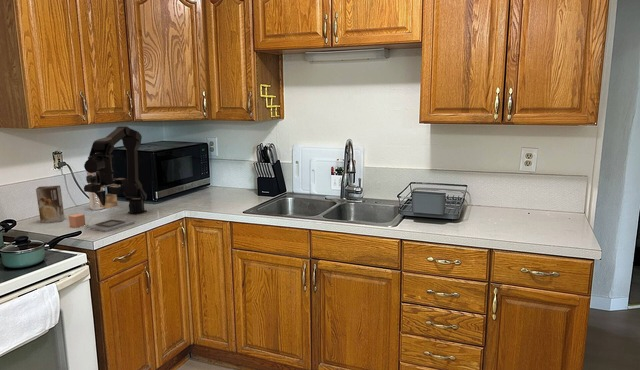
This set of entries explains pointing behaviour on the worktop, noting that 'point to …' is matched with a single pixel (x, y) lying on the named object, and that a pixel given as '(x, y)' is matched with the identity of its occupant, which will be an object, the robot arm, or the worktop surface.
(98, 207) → the water bottle
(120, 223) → the grey flat square plate
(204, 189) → the worktop surface
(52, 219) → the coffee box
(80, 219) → the terracotta block
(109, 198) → the oak cube
